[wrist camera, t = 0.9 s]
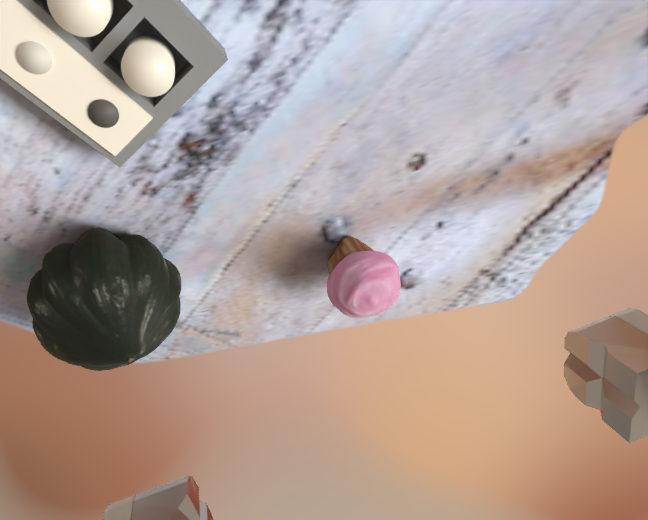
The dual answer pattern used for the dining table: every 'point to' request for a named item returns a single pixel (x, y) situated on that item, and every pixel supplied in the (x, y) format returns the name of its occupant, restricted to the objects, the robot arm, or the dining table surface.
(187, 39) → the button board
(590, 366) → the robot arm
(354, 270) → the cupcake
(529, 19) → the dining table surface
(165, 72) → the button
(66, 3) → the button
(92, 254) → the squash
